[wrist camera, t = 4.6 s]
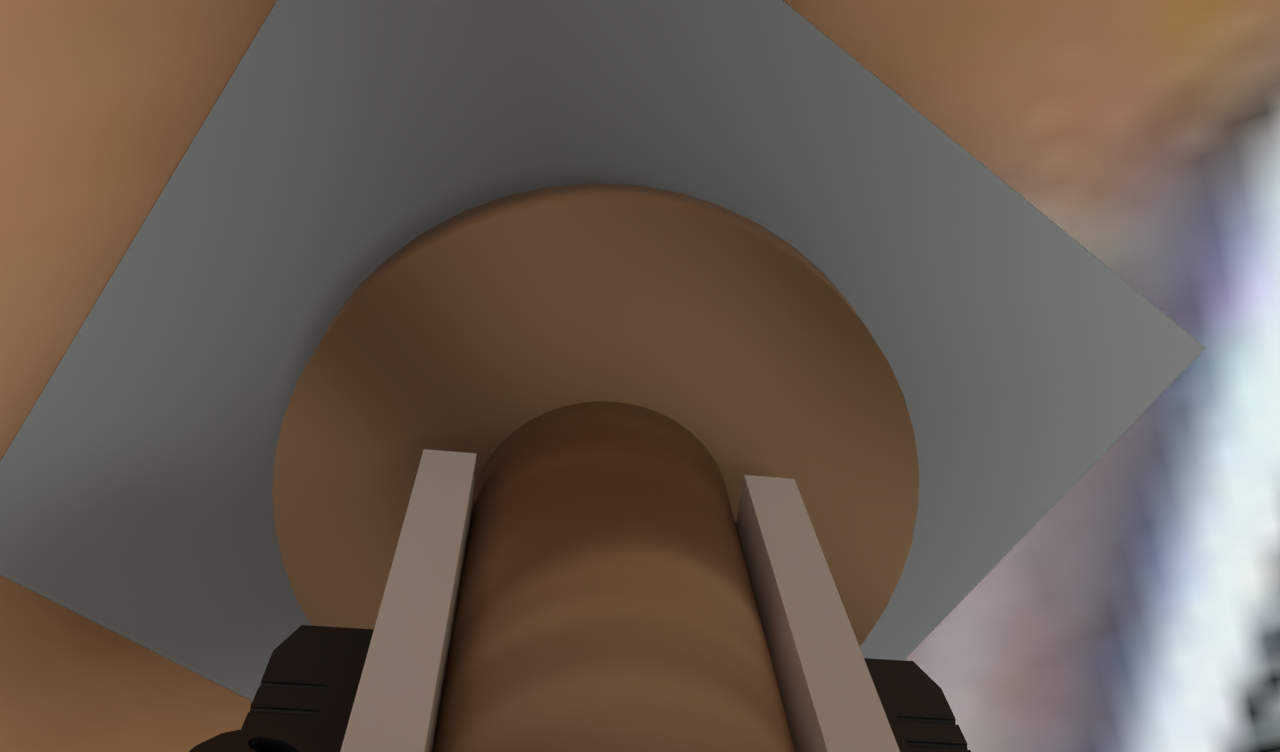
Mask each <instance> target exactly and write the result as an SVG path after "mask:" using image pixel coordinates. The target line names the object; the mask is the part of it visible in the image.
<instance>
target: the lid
mask: <svg viewBox="0 0 1280 752" xmlns="http://www.w3.org/2000/svg"><path fill="white" fill-rule="evenodd" d="M424 449H427V450H440V451H452V452H465V453H477V456H476V471H475V485H474V500H473V511H472V517H471V523H470V529H469V535H468V541H467V547H466V553H465V559H464V565H463V571H462V577H461V583H460V589H459V595H458V601H457V607H456V613H455V619H454V625H453V631H452V637H451V643H450V649H449V655H448V661H447V667H446V673H445V679H444V685H443V691H442V697H441V703H440V709H439V715H438V721H437V727H436V733H435V739H434V745H433V751H432V752H796V751H795V747H794V743H793V739H792V736H791V732H790V728H789V724H788V720H787V717H786V713H785V709H784V705H783V702H782V698H781V694H780V690H779V686H778V683H777V679H776V675H775V671H774V667H773V664H772V660H771V656H770V652H769V649H768V645H767V641H766V637H765V633H764V630H763V626H762V622H761V618H760V614H759V611H758V607H757V603H756V599H755V596H754V592H753V588H752V584H751V580H750V577H749V573H748V569H747V565H746V561H745V558H744V554H743V550H742V546H741V543H740V539H739V535H738V531H737V527H736V519H737V514H738V508H739V502H740V496H741V491H742V485H743V479H744V475H753V476H765V477H778V478H790V479H795V482H796V484H797V487H798V490H799V492H800V495H801V497H802V500H803V502H804V505H805V508H806V510H807V513H808V515H809V518H810V521H811V523H812V526H813V528H814V531H815V533H816V536H817V539H818V541H819V544H820V546H821V549H822V551H823V554H824V557H825V559H826V562H827V564H828V567H829V570H830V572H831V575H832V577H833V580H834V582H835V585H836V588H837V590H838V593H839V595H840V598H841V600H842V603H843V606H844V608H845V611H846V613H847V616H848V619H849V621H850V624H851V626H852V629H853V631H854V634H855V637H856V639H857V642H858V644H859V647H860V645H861V644H862V643H863V642H864V641H865V640H866V638H867V636H868V635H869V633H870V632H871V630H872V629H873V627H874V626H875V624H876V623H877V621H878V620H879V618H880V617H881V615H882V614H883V612H884V610H885V609H886V607H887V605H888V602H889V600H890V598H891V596H892V594H893V592H894V590H895V588H896V586H897V584H898V582H899V580H900V578H901V575H902V572H903V569H904V565H905V562H906V559H907V556H908V553H909V550H910V547H911V544H912V539H913V533H914V527H915V522H916V516H917V510H918V490H919V466H918V458H917V450H916V442H915V434H914V430H913V426H912V423H911V419H910V415H909V412H908V408H907V405H906V401H905V398H904V395H903V393H902V391H901V388H900V386H899V384H898V382H897V379H896V377H895V375H894V373H893V371H892V368H891V366H890V364H889V362H888V360H887V358H886V357H885V355H884V354H883V352H882V351H881V349H880V348H879V346H878V345H877V343H876V341H875V340H874V338H873V337H872V335H871V334H870V332H869V331H868V329H867V327H866V326H865V325H864V323H863V322H862V320H861V319H860V317H859V316H858V315H857V313H856V312H855V310H854V309H853V307H852V306H851V305H850V303H849V302H848V300H847V299H846V298H845V297H844V296H843V295H842V294H841V292H840V291H839V290H838V289H837V288H836V287H835V286H834V284H833V283H832V282H831V281H830V280H829V279H828V278H827V276H826V275H825V274H824V273H823V272H822V271H821V270H820V269H819V268H818V267H816V266H815V265H814V264H813V263H812V262H811V261H809V260H808V259H807V258H806V257H805V256H804V255H802V254H801V253H800V252H799V251H798V250H797V249H795V248H794V247H793V246H792V245H790V244H789V243H787V242H786V241H784V240H783V239H781V238H780V237H778V236H776V235H775V234H773V233H772V232H770V231H769V230H767V229H766V228H764V227H763V226H761V225H759V224H758V223H756V222H754V221H752V220H749V219H747V218H745V217H743V216H741V215H739V214H737V213H734V212H732V211H730V210H728V209H726V208H724V207H722V206H719V205H716V204H713V203H710V202H707V201H703V200H700V199H697V198H694V197H691V196H687V195H684V194H681V193H678V192H672V191H666V190H660V189H655V188H649V187H643V186H637V185H620V184H596V183H589V184H577V185H566V186H555V187H546V188H541V189H537V190H532V191H527V192H523V193H518V194H514V195H509V196H505V197H502V198H499V199H496V200H494V201H491V202H488V203H485V204H482V205H480V206H477V207H474V208H471V209H469V210H466V211H463V212H461V213H459V214H457V215H455V216H454V217H452V218H450V219H448V220H446V221H444V222H442V223H440V224H438V225H436V226H434V227H433V228H431V229H429V230H427V231H425V232H423V233H422V234H421V235H419V236H418V237H416V238H415V239H414V240H412V241H411V242H409V243H408V244H407V245H405V246H404V247H402V248H401V249H400V250H398V251H397V252H395V253H394V254H392V255H391V256H390V257H389V258H388V259H387V260H386V261H385V262H384V263H382V264H381V265H380V266H379V267H378V268H377V269H376V270H375V271H374V272H373V273H372V274H371V275H370V276H369V277H368V278H367V279H365V280H364V281H363V282H362V283H361V284H360V285H359V287H358V288H357V289H356V291H355V292H354V293H353V294H352V296H351V297H350V298H349V299H348V301H347V302H346V303H345V304H344V306H343V307H342V308H341V309H340V311H339V312H338V313H337V314H336V316H335V317H334V319H333V321H332V323H331V324H330V326H329V328H328V329H327V331H326V333H325V335H324V336H323V338H322V340H321V341H320V343H319V345H318V347H317V348H316V350H315V352H314V353H313V355H312V357H311V359H310V360H309V362H308V364H307V365H306V367H305V369H304V371H303V372H302V374H301V376H300V378H299V379H298V382H297V384H296V387H295V389H294V392H293V394H292V397H291V399H290V402H289V404H288V407H287V410H286V412H285V415H284V417H283V422H282V426H281V431H280V435H279V439H278V444H277V448H276V453H275V462H274V476H273V490H272V496H273V508H274V520H275V531H276V535H277V540H278V544H279V548H280V552H281V557H282V561H283V565H284V568H285V571H286V573H287V576H288V578H289V581H290V583H291V586H292V588H293V591H294V593H295V596H296V598H297V601H298V603H299V605H300V606H301V608H302V610H303V612H304V613H305V615H306V617H307V618H308V620H309V622H310V624H311V625H312V626H327V627H343V628H359V629H374V628H375V624H376V621H377V617H378V613H379V610H380V606H381V602H382V599H383V595H384V591H385V588H386V584H387V581H388V577H389V573H390V570H391V566H392V562H393V559H394V555H395V552H396V548H397V544H398V541H399V537H400V533H401V530H402V526H403V523H404V519H405V515H406V512H407V508H408V504H409V501H410V497H411V494H412V490H413V486H414V483H415V479H416V475H417V472H418V468H419V465H420V461H421V457H422V454H423V450H424Z"/></svg>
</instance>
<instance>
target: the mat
mask: <svg viewBox="0 0 1280 752" xmlns="http://www.w3.org/2000/svg"><path fill="white" fill-rule="evenodd" d="M589 183H596V184H620V185H637V186H643V187H649V188H655V189H660V190H666V191H672V192H678V193H681V194H684V195H687V196H691V197H694V198H697V199H700V200H703V201H707V202H710V203H713V204H716V205H719V206H722V207H724V208H726V209H728V210H730V211H732V212H734V213H737V214H739V215H741V216H743V217H745V218H747V219H749V220H752V221H754V222H756V223H758V224H759V225H761V226H763V227H764V228H766V229H767V230H769V231H770V232H772V233H773V234H775V235H776V236H778V237H780V238H781V239H783V240H784V241H786V242H787V243H789V244H790V245H792V246H793V247H794V248H795V249H797V250H798V251H799V252H800V253H801V254H802V255H804V256H805V257H806V258H807V259H808V260H809V261H811V262H812V263H813V264H814V265H815V266H816V267H818V268H819V269H820V270H821V271H822V272H823V273H824V274H825V275H826V276H827V278H828V279H829V280H830V281H831V282H832V283H833V284H834V286H835V287H836V288H837V289H838V290H839V291H840V292H841V294H842V295H843V296H844V297H845V298H846V299H847V300H848V302H849V303H850V305H851V306H852V307H853V309H854V310H855V312H856V313H857V315H858V316H859V317H860V319H861V320H862V322H863V323H864V325H865V326H866V327H867V329H868V331H869V332H870V334H871V335H872V337H873V338H874V340H875V341H876V343H877V345H878V346H879V348H880V349H881V351H882V352H883V354H884V355H885V357H886V358H887V360H888V362H889V364H890V366H891V368H892V371H893V373H894V375H895V377H896V379H897V382H898V384H899V386H900V388H901V391H902V393H903V395H904V398H905V401H906V405H907V408H908V412H909V415H910V419H911V423H912V426H913V430H914V434H915V442H916V450H917V458H918V466H919V490H918V510H917V516H916V522H915V527H914V533H913V539H912V544H911V547H910V550H909V553H908V556H907V559H906V562H905V565H904V569H903V572H902V575H901V578H900V580H899V582H898V584H897V586H896V588H895V590H894V592H893V594H892V596H891V598H890V600H889V602H888V605H887V607H886V609H885V610H884V612H883V614H882V615H881V617H880V618H879V620H878V621H877V623H876V624H875V626H874V627H873V629H872V630H871V632H870V633H869V635H868V636H867V638H866V640H865V641H864V642H863V643H862V644H861V645H860V650H861V652H862V655H863V657H864V658H870V659H886V660H901V661H904V660H905V659H906V658H907V656H908V655H909V654H910V653H911V652H912V651H913V650H914V649H915V648H916V647H917V646H918V645H919V644H920V643H921V642H922V641H923V640H924V639H925V638H926V637H927V636H928V635H929V634H930V633H931V632H932V631H933V630H934V629H935V628H936V626H937V625H938V624H939V623H940V622H941V621H942V620H943V619H944V618H945V617H946V616H947V615H948V614H949V613H950V612H951V611H952V610H953V609H954V608H955V607H956V606H957V605H958V604H959V603H960V602H961V601H962V600H963V599H964V598H965V596H966V595H967V594H968V593H969V592H970V591H971V590H972V589H973V588H974V587H975V586H976V585H977V584H978V583H979V582H980V581H981V580H982V579H983V578H984V577H985V576H986V575H987V574H988V573H989V572H990V571H991V570H992V569H993V568H994V566H995V565H996V564H997V563H998V562H999V561H1000V560H1001V559H1002V558H1003V557H1004V556H1005V555H1006V554H1007V553H1008V552H1009V551H1010V550H1011V549H1012V548H1013V547H1014V546H1015V545H1016V544H1017V543H1018V542H1019V541H1020V540H1021V539H1022V538H1023V537H1024V535H1025V534H1026V533H1027V532H1028V531H1029V530H1030V529H1031V528H1032V527H1033V526H1034V525H1035V524H1036V523H1037V522H1038V521H1039V520H1040V519H1041V518H1042V517H1043V516H1044V515H1045V514H1046V513H1047V512H1048V511H1049V510H1050V509H1051V508H1052V507H1053V505H1054V504H1055V503H1056V502H1057V501H1058V500H1059V499H1060V498H1061V497H1062V496H1063V495H1064V494H1065V493H1066V492H1067V491H1068V490H1069V489H1070V488H1071V487H1072V486H1073V485H1074V484H1075V483H1076V482H1077V481H1078V480H1079V479H1080V478H1081V477H1082V475H1083V474H1084V473H1085V472H1086V471H1087V470H1088V469H1089V468H1090V467H1091V466H1092V465H1093V464H1094V463H1095V462H1096V461H1097V460H1098V459H1099V458H1100V457H1101V456H1102V455H1103V454H1104V453H1105V452H1106V451H1107V450H1108V449H1109V448H1110V447H1111V445H1112V444H1113V443H1114V442H1115V441H1116V440H1117V439H1118V438H1119V437H1120V436H1121V435H1122V434H1123V433H1124V432H1125V431H1126V430H1127V429H1128V428H1129V427H1130V426H1131V425H1132V424H1133V423H1134V422H1135V421H1136V420H1137V419H1138V418H1139V417H1140V415H1141V414H1142V413H1143V412H1144V411H1145V410H1146V409H1147V408H1148V407H1149V406H1150V405H1151V404H1152V403H1153V402H1154V401H1155V400H1156V399H1157V398H1158V397H1159V396H1160V395H1161V394H1162V393H1163V392H1164V391H1165V390H1166V389H1167V388H1168V387H1169V385H1170V384H1171V383H1172V382H1173V381H1174V380H1175V379H1176V378H1177V377H1178V376H1179V375H1180V374H1181V373H1182V372H1183V371H1184V370H1185V369H1186V368H1187V367H1188V366H1189V365H1190V364H1191V363H1192V362H1193V361H1194V360H1195V359H1196V358H1197V357H1198V356H1199V354H1200V353H1201V352H1202V351H1203V350H1204V349H1205V348H1206V347H1205V346H1203V345H1202V344H1201V343H1200V342H1199V341H1197V340H1196V339H1195V338H1194V337H1192V336H1191V335H1190V334H1189V333H1188V332H1186V331H1185V330H1184V329H1183V328H1182V327H1180V326H1179V325H1178V324H1177V323H1175V322H1174V321H1173V320H1172V319H1171V318H1169V317H1168V316H1167V315H1166V314H1164V313H1163V312H1162V311H1161V310H1160V309H1158V308H1157V307H1156V306H1155V305H1154V304H1152V303H1151V302H1150V301H1149V300H1147V299H1146V298H1145V297H1144V296H1143V295H1141V294H1140V293H1139V292H1138V291H1136V290H1135V289H1134V288H1133V287H1132V286H1130V285H1129V284H1128V283H1127V282H1125V281H1124V280H1123V279H1122V278H1121V277H1119V276H1118V275H1117V274H1116V273H1115V272H1113V271H1112V270H1111V269H1110V268H1108V267H1107V266H1106V265H1105V264H1104V263H1102V262H1101V261H1100V260H1099V259H1097V258H1096V257H1095V256H1094V255H1093V254H1091V253H1090V252H1089V251H1088V250H1086V249H1085V248H1084V247H1083V246H1082V245H1080V244H1079V243H1078V242H1077V241H1076V240H1074V239H1073V238H1072V237H1071V236H1069V235H1068V234H1067V233H1066V232H1065V231H1063V230H1062V229H1061V228H1060V227H1058V226H1057V225H1056V224H1055V223H1054V222H1052V221H1051V220H1050V219H1049V218H1048V217H1046V216H1045V215H1044V214H1043V213H1041V212H1040V211H1039V210H1038V209H1037V208H1035V207H1034V206H1033V205H1032V204H1030V203H1029V202H1028V201H1027V200H1026V199H1024V198H1023V197H1022V196H1021V195H1019V194H1018V193H1017V192H1016V191H1015V190H1013V189H1012V188H1011V187H1010V186H1009V185H1007V184H1006V183H1005V182H1004V181H1002V180H1001V179H1000V178H999V177H998V176H996V175H995V174H994V173H993V172H991V171H990V170H989V169H988V168H987V167H985V166H984V165H983V164H982V163H981V162H979V161H978V160H977V159H976V158H974V157H973V156H972V155H971V154H970V153H968V152H967V151H966V150H965V149H963V148H962V147H961V146H960V145H959V144H957V143H956V142H955V141H954V140H952V139H951V138H950V137H949V136H948V135H946V134H945V133H944V132H943V131H942V130H940V129H939V128H938V127H937V126H935V125H934V124H933V123H932V122H931V121H929V120H928V119H927V118H926V117H924V116H923V115H922V114H921V113H920V112H918V111H917V110H916V109H915V108H913V107H912V106H911V105H910V104H909V103H907V102H906V101H905V100H904V99H903V98H901V97H900V96H899V95H898V94H896V93H895V92H894V91H893V90H892V89H890V88H889V87H888V86H887V85H885V84H884V83H883V82H882V81H881V80H879V79H878V78H877V77H876V76H875V75H873V74H872V73H871V72H870V71H868V70H867V69H866V68H865V67H864V66H862V65H861V64H860V63H859V62H857V61H856V60H855V59H854V58H853V57H851V56H850V55H849V54H848V53H846V52H845V51H844V50H843V49H842V48H840V47H839V46H838V45H837V44H836V43H834V42H833V41H832V40H831V39H829V38H828V37H827V36H826V35H825V34H823V33H822V32H821V31H820V30H818V29H817V28H816V27H815V26H814V25H812V24H811V23H810V22H809V21H807V20H806V19H805V18H804V17H803V16H801V15H800V14H799V13H798V12H797V11H795V10H794V9H793V8H792V7H790V6H789V5H788V4H787V3H786V2H784V1H783V0H277V1H276V3H275V5H274V6H273V8H272V10H271V11H270V13H269V15H268V16H267V18H266V20H265V21H264V23H263V25H262V26H261V28H260V30H259V31H258V33H257V35H256V36H255V38H254V40H253V41H252V43H251V45H250V46H249V48H248V50H247V51H246V53H245V55H244V56H243V58H242V60H241V61H240V63H239V65H238V66H237V68H236V70H235V71H234V73H233V75H232V76H231V78H230V80H229V81H228V83H227V85H226V86H225V88H224V90H223V91H222V93H221V95H220V96H219V98H218V100H217V101H216V103H215V105H214V106H213V108H212V110H211V111H210V113H209V115H208V116H207V118H206V120H205V121H204V123H203V125H202V126H201V128H200V130H199V131H198V133H197V135H196V136H195V138H194V140H193V141H192V143H191V145H190V146H189V148H188V150H187V151H186V153H185V155H184V156H183V158H182V160H181V161H180V163H179V165H178V166H177V168H176V170H175V171H174V173H173V175H172V176H171V178H170V180H169V181H168V183H167V185H166V186H165V188H164V190H163V191H162V193H161V195H160V196H159V198H158V200H157V201H156V203H155V205H154V206H153V208H152V210H151V211H150V213H149V215H148V216H147V218H146V220H145V221H144V223H143V225H142V226H141V228H140V230H139V231H138V233H137V235H136V236H135V238H134V240H133V241H132V243H131V245H130V246H129V248H128V250H127V251H126V253H125V255H124V256H123V258H122V260H121V261H120V263H119V265H118V266H117V268H116V270H115V271H114V273H113V275H112V276H111V278H110V280H109V281H108V283H107V285H106V286H105V288H104V290H103V291H102V293H101V295H100V296H99V298H98V300H97V301H96V303H95V305H94V306H93V308H92V310H91V311H90V313H89V315H88V316H87V318H86V320H85V321H84V323H83V325H82V326H81V328H80V330H79V331H78V333H77V335H76V336H75V338H74V340H73V341H72V343H71V345H70V346H69V348H68V350H67V351H66V353H65V355H64V356H63V358H62V360H61V361H60V363H59V365H58V366H57V368H56V370H55V371H54V373H53V375H52V376H51V378H50V380H49V381H48V383H47V385H46V386H45V388H44V390H43V391H42V393H41V395H40V397H39V398H38V400H37V402H36V403H35V405H34V407H33V408H32V410H31V412H30V413H29V415H28V417H27V418H26V420H25V422H24V423H23V425H22V427H21V428H20V430H19V432H18V433H17V435H16V437H15V438H14V440H13V442H12V443H11V445H10V447H9V448H8V450H7V452H6V453H5V455H4V457H3V458H2V460H1V462H0V575H1V576H3V577H5V578H7V579H9V580H11V581H13V582H15V583H17V584H19V585H21V586H23V587H25V588H27V589H29V590H31V591H33V592H35V593H37V594H39V595H41V596H43V597H45V598H47V599H49V600H51V601H53V602H55V603H57V604H59V605H61V606H63V607H65V608H67V609H69V610H71V611H73V612H75V613H77V614H79V615H81V616H83V617H85V618H87V619H89V620H91V621H93V622H95V623H97V624H99V625H101V626H103V627H105V628H107V629H109V630H111V631H113V632H115V633H117V634H119V635H121V636H123V637H125V638H127V639H129V640H131V641H133V642H135V643H137V644H139V645H141V646H143V647H145V648H147V649H149V650H151V651H153V652H155V653H157V654H159V655H161V656H163V657H165V658H167V659H169V660H171V661H173V662H175V663H177V664H179V665H181V666H183V667H185V668H187V669H189V670H191V671H193V672H195V673H197V674H199V675H201V676H203V677H205V678H207V679H209V680H211V681H213V682H215V683H217V684H219V685H221V686H223V687H225V688H227V689H229V690H231V691H233V692H235V693H237V694H239V695H241V696H243V697H245V698H247V699H249V700H251V701H253V699H254V697H255V694H256V692H257V689H258V687H260V685H261V680H262V677H263V675H264V672H265V670H266V667H267V665H268V662H269V660H270V657H271V655H272V652H273V650H274V649H275V648H276V647H278V646H279V645H280V644H281V643H282V642H283V641H284V640H285V639H286V638H288V637H289V636H290V635H291V634H292V633H293V632H294V631H295V630H297V629H298V628H299V627H300V626H301V625H311V624H310V622H309V620H308V618H307V617H306V615H305V613H304V612H303V610H302V608H301V606H300V605H299V603H298V601H297V598H296V596H295V593H294V591H293V588H292V586H291V583H290V581H289V578H288V576H287V573H286V571H285V568H284V565H283V561H282V557H281V552H280V548H279V544H278V540H277V535H276V531H275V520H274V508H273V496H272V490H273V476H274V462H275V453H276V448H277V444H278V439H279V435H280V431H281V426H282V422H283V417H284V415H285V412H286V410H287V407H288V404H289V402H290V399H291V397H292V394H293V392H294V389H295V387H296V384H297V382H298V379H299V378H300V376H301V374H302V372H303V371H304V369H305V367H306V365H307V364H308V362H309V360H310V359H311V357H312V355H313V353H314V352H315V350H316V348H317V347H318V345H319V343H320V341H321V340H322V338H323V336H324V335H325V333H326V331H327V329H328V328H329V326H330V324H331V323H332V321H333V319H334V317H335V316H336V314H337V313H338V312H339V311H340V309H341V308H342V307H343V306H344V304H345V303H346V302H347V301H348V299H349V298H350V297H351V296H352V294H353V293H354V292H355V291H356V289H357V288H358V287H359V285H360V284H361V283H362V282H363V281H364V280H365V279H367V278H368V277H369V276H370V275H371V274H372V273H373V272H374V271H375V270H376V269H377V268H378V267H379V266H380V265H381V264H382V263H384V262H385V261H386V260H387V259H388V258H389V257H390V256H391V255H392V254H394V253H395V252H397V251H398V250H400V249H401V248H402V247H404V246H405V245H407V244H408V243H409V242H411V241H412V240H414V239H415V238H416V237H418V236H419V235H421V234H422V233H423V232H425V231H427V230H429V229H431V228H433V227H434V226H436V225H438V224H440V223H442V222H444V221H446V220H448V219H450V218H452V217H454V216H455V215H457V214H459V213H461V212H463V211H466V210H469V209H471V208H474V207H477V206H480V205H482V204H485V203H488V202H491V201H494V200H496V199H499V198H502V197H505V196H509V195H514V194H518V193H523V192H527V191H532V190H537V189H541V188H546V187H555V186H566V185H577V184H589Z"/></svg>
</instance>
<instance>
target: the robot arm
mask: <svg viewBox="0 0 1280 752" xmlns="http://www.w3.org/2000/svg"><path fill="white" fill-rule="evenodd" d="M476 456H477V453H465V452H452V451H440V450H427V449H424V450H423V454H422V457H421V461H420V465H419V468H418V472H417V475H416V479H415V483H414V486H413V490H412V494H411V497H410V501H409V504H408V508H407V512H406V515H405V519H404V523H403V526H402V530H401V533H400V537H399V541H398V544H397V548H396V552H395V555H394V559H393V562H392V566H391V570H390V573H389V577H388V581H387V584H386V588H385V591H384V595H383V599H382V602H381V606H380V610H379V613H378V617H377V621H376V624H375V628H374V629H359V628H343V627H327V626H312V625H301V626H300V627H299V628H298V629H297V630H295V631H294V632H293V633H292V634H291V635H290V636H289V637H288V638H286V639H285V640H284V641H283V642H282V643H281V644H280V645H279V646H278V647H276V648H275V649H274V650H273V652H272V655H271V657H270V660H269V662H268V665H267V667H266V670H265V672H264V675H263V677H262V680H261V685H260V687H258V689H257V692H256V694H255V697H254V699H253V702H252V704H251V709H250V713H249V712H248V714H247V717H246V719H245V722H244V724H243V727H242V729H241V730H236V731H231V732H226V733H222V734H219V735H217V736H215V737H213V738H211V739H209V740H207V741H205V742H203V743H201V744H199V745H196V746H195V747H194V748H193V749H191V750H190V751H189V752H432V751H433V745H434V739H435V733H436V727H437V721H438V715H439V709H440V703H441V697H442V691H443V685H444V679H445V673H446V667H447V661H448V655H449V649H450V643H451V637H452V631H453V625H454V619H455V613H456V607H457V601H458V595H459V589H460V583H461V577H462V571H463V565H464V559H465V553H466V547H467V541H468V535H469V529H470V523H471V517H472V511H473V500H474V485H475V471H476ZM736 527H737V531H738V535H739V539H740V543H741V546H742V550H743V554H744V558H745V561H746V565H747V569H748V573H749V577H750V580H751V584H752V588H753V592H754V596H755V599H756V603H757V607H758V611H759V614H760V618H761V622H762V626H763V630H764V633H765V637H766V641H767V645H768V649H769V652H770V656H771V660H772V664H773V667H774V671H775V675H776V679H777V683H778V686H779V690H780V694H781V698H782V702H783V705H784V709H785V713H786V717H787V720H788V724H789V728H790V732H791V736H792V739H793V743H794V747H795V751H796V752H971V751H970V750H967V742H966V740H965V738H964V736H963V734H962V732H961V730H960V728H959V725H956V724H955V717H954V715H953V713H952V711H951V708H950V706H949V704H948V702H947V700H946V698H945V696H944V694H943V691H942V689H941V688H940V687H939V686H938V685H937V684H936V683H935V682H934V681H933V680H932V679H931V678H930V677H929V676H928V675H927V674H925V673H924V672H923V671H922V670H921V669H920V668H919V667H918V666H917V665H916V664H915V663H914V662H913V661H901V660H886V659H870V658H864V657H863V655H862V652H861V650H860V647H859V644H858V642H857V639H856V637H855V634H854V631H853V629H852V626H851V624H850V621H849V619H848V616H847V613H846V611H845V608H844V606H843V603H842V600H841V598H840V595H839V593H838V590H837V588H836V585H835V582H834V580H833V577H832V575H831V572H830V570H829V567H828V564H827V562H826V559H825V557H824V554H823V551H822V549H821V546H820V544H819V541H818V539H817V536H816V533H815V531H814V528H813V526H812V523H811V521H810V518H809V515H808V513H807V510H806V508H805V505H804V502H803V500H802V497H801V495H800V492H799V490H798V487H797V484H796V482H795V479H790V478H778V477H765V476H753V475H744V479H743V485H742V491H741V496H740V502H739V508H738V514H737V519H736Z"/></svg>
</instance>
